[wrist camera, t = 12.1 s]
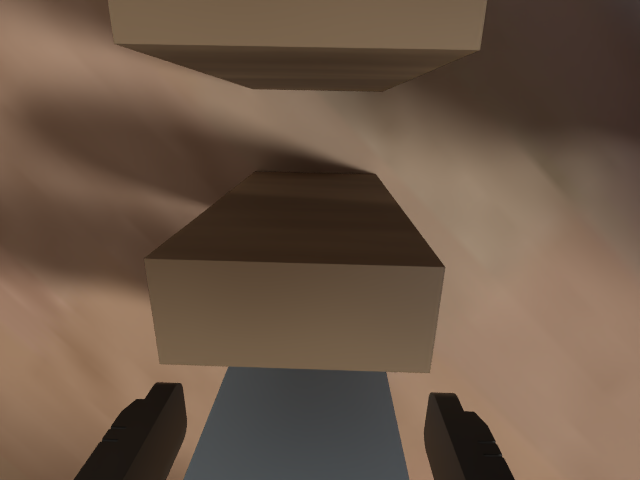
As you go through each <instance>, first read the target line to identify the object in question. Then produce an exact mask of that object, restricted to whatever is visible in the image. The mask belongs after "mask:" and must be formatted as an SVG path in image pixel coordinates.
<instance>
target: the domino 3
mask: <svg viewBox="0 0 640 480" xmlns="http://www.w3.org/2000/svg"><path fill="white" fill-rule="evenodd" d="M183 480H409V476H408V471H407V467H406V462H405V457H404V453H403V448H402V444H401V439H400V434H399V430H398V425H397V420H396V416H395V411H394V407H393V402H392V397H391V393H390V388H389V383H388V379H387V374H386V372H378V371H349V370H319V369H289V368H260V367H230V366H229V367H228V369H227V372H226V374H225V377H224V379H223V382H222V384H221V387H220V389H219V392H218V394H217V397H216V399H215V402H214V404H213V407H212V409H211V412H210V414H209V417H208V419H207V422H206V424H205V427H204V429H203V432H202V434H201V437H200V439H199V442H198V444H197V447H196V449H195V452H194V454H193V457H192V459H191V462H190V464H189V467H188V469H187V472H186V474H185V477H184V479H183Z"/></svg>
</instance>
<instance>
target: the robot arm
mask: <svg viewBox="0 0 640 480" xmlns="http://www.w3.org/2000/svg"><path fill="white" fill-rule="evenodd" d="M186 428H187V416H186V408H185V401H184V393H183V387H182V384H181V383H163V382H157V383H155V384H154V386H153V387H152V389H151V390H150V392H149V393H148V395H147V396H146V398H145V399H136V400H135V401H134V402H132V403H131V404H130V405H129V406H127V407H126V408H125V409H124V410H123V411H121V413H120V414H119V416H118V417H117V418H116V420H115V421H114V423H113V424H112V426H111V429H109V430H108V431H107V433H106V434H105V436H104V437H103V438H102V442H100V443H99V444H98V446H97V447H96V448H95V450H94V451H93V453H92V454H91V456H90V457H89V458H88V460H87V461H86V463H85V464H84V466H83V467H82V468H81V470H80V471H79V473H78V474H77V476H76V477H75V479H74V480H166V478H167V476H168V474H169V472H170V469H171V467H172V465H173V463H174V460H175V458H176V456H177V454H178V452H179V449H180V447H181V445H182V443H183V440H184V437H185V433H186ZM424 442H425V448H426V453H427V456H428V460H429V463H430V467H431V470H432V474H433V477H434V480H515V479H514V477H513V475H512V473H511V471H510V469H509V467H508V465H507V463H506V461H505V459H504V458H503V457H502V453H501V451H500V449H499V447H498V445H497V444H496V443H495V439H494V437H493V435H492V433H491V432H490V430H489V428H488V426H487V425H486V423H485V422H484V421H483V420H482V419H481V418H480V417H479V416H478V415H477V414H476V413H475V412H468V411H464V410H463V408H462V406H461V404H460V401H459V399H458V397H457V395H456V394H454V393H430V395H429V400H428V407H427V413H426V420H425V427H424Z"/></svg>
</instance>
